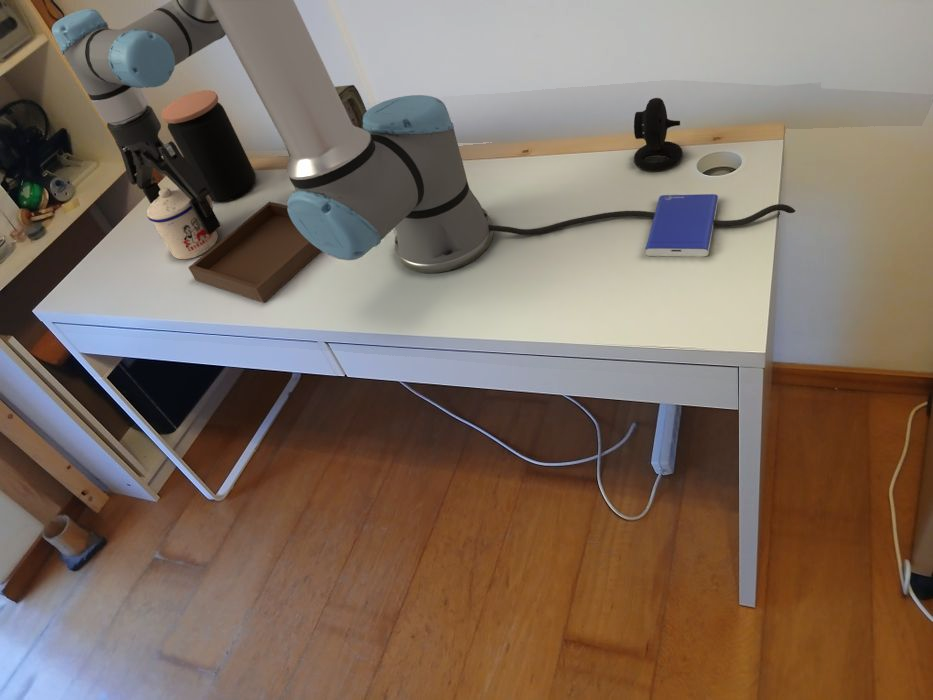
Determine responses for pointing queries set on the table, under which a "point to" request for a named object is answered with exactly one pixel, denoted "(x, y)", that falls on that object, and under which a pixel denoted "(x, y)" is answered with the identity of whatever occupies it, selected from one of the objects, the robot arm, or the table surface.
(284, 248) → the tray
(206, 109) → the coffee jar
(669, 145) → the webcam
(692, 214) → the hard drive
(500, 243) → the table surface
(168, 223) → the teacup with lid
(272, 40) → the robot arm
